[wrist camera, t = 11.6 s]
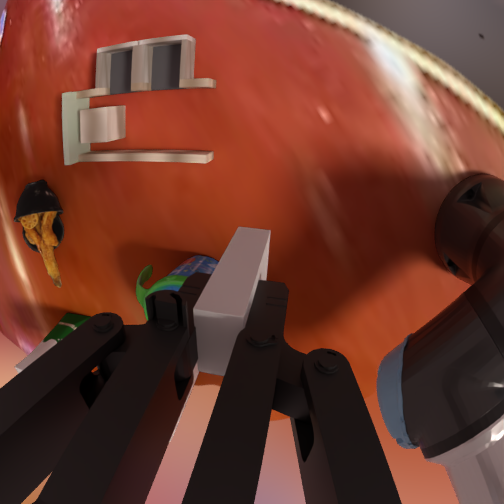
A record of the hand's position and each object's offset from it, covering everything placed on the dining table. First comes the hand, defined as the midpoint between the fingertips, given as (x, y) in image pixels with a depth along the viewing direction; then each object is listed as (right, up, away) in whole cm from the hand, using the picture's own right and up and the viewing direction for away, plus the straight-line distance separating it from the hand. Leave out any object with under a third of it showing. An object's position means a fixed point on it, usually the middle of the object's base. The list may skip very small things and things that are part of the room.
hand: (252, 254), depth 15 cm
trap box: (-14, +20, +21) cm, 32 cm away
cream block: (-19, +18, +23) cm, 35 cm away
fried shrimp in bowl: (-34, +5, +32) cm, 47 cm away
